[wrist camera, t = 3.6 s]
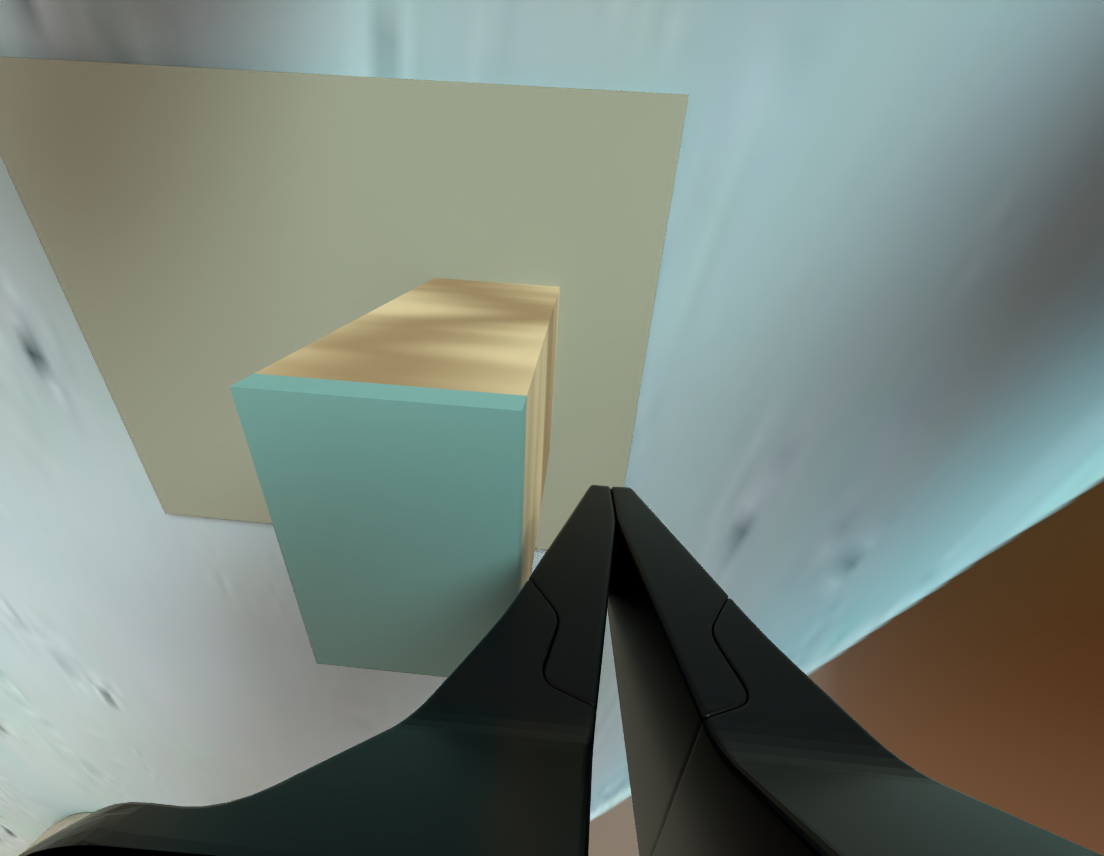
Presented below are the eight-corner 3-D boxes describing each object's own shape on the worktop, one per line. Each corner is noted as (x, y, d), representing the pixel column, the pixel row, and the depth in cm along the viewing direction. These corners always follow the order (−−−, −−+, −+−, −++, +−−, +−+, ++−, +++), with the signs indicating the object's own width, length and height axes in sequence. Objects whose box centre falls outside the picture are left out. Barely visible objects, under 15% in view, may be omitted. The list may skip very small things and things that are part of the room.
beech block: (559, 286, 14) (522, 410, 6) (549, 450, 17) (514, 684, 9) (434, 278, 14) (229, 386, 6) (445, 441, 17) (316, 664, 9)
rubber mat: (685, 97, 12) (688, 94, 11) (612, 549, 19) (612, 555, 19) (-28, 58, 12) (-46, 53, 12) (172, 507, 20) (165, 513, 20)
